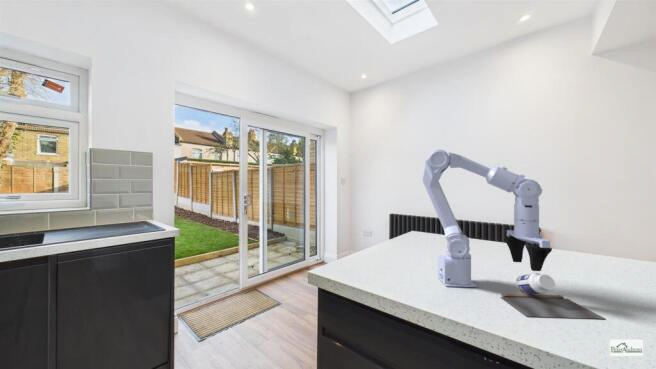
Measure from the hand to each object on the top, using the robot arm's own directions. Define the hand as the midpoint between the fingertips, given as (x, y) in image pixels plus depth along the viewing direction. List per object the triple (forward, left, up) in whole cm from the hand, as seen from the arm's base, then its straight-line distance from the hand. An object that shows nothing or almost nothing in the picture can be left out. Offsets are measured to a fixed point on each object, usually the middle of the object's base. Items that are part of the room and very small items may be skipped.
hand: (526, 266), depth 73 cm
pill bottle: (0, +1, -6) cm, 6 cm away
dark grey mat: (0, -7, -8) cm, 11 cm away
